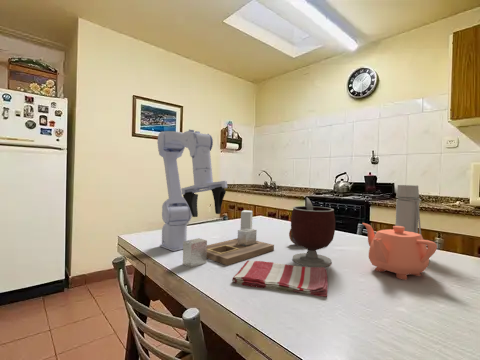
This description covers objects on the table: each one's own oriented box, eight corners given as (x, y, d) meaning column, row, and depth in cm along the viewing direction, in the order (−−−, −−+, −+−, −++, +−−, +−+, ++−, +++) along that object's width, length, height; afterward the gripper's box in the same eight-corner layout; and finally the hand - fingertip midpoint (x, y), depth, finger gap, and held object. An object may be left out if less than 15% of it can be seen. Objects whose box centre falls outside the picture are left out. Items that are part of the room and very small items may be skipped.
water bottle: (389, 250, 101) (391, 184, 101) (404, 249, 103) (406, 184, 103) (411, 257, 92) (413, 185, 92) (427, 255, 95) (430, 186, 94)
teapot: (372, 278, 72) (374, 229, 72) (360, 260, 88) (361, 219, 88) (441, 286, 68) (443, 233, 68) (415, 265, 84) (416, 223, 84)
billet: (182, 264, 80) (183, 241, 80) (198, 260, 85) (198, 238, 85) (190, 267, 78) (191, 243, 78) (206, 263, 82) (206, 240, 82)
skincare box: (249, 240, 112) (250, 212, 111) (240, 239, 112) (240, 211, 112) (252, 237, 118) (252, 210, 117) (242, 236, 118) (243, 209, 118)
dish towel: (328, 300, 60) (328, 288, 60) (230, 286, 67) (230, 275, 67) (326, 274, 76) (326, 265, 76) (247, 264, 83) (247, 256, 83)
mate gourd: (340, 268, 80) (342, 202, 79) (294, 267, 80) (296, 201, 79) (324, 253, 95) (326, 197, 95) (286, 252, 95) (287, 196, 95)
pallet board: (194, 253, 91) (194, 247, 91) (242, 242, 109) (242, 236, 109) (227, 265, 80) (227, 258, 80) (273, 250, 98) (274, 244, 98)
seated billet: (237, 249, 98) (237, 230, 98) (248, 246, 102) (248, 228, 102) (245, 251, 95) (245, 232, 95) (256, 248, 100) (256, 229, 99)
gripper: (174, 172, 80) (177, 218, 77) (218, 164, 75) (223, 211, 73) (186, 176, 86) (190, 218, 84) (228, 168, 82) (232, 212, 79)
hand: (206, 215), depth 79 cm, fingers open, 7 cm apart
